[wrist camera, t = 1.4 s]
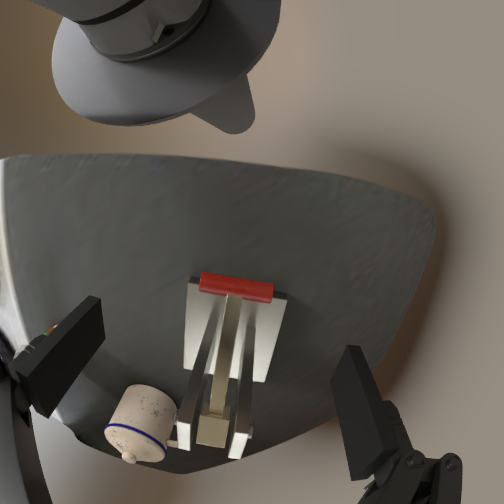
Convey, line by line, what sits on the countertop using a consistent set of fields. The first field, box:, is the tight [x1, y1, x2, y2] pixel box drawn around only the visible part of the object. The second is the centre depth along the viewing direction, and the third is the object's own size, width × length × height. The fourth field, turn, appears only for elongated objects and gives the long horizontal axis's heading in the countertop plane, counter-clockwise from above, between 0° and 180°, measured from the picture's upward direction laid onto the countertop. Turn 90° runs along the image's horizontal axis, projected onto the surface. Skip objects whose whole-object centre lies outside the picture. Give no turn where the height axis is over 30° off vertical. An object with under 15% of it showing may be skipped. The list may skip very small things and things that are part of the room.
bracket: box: [174, 277, 287, 459], centre depth 23 cm, size 12×10×15 cm
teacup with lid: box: [105, 384, 178, 463], centre depth 30 cm, size 12×9×12 cm
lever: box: [196, 272, 274, 448], centre depth 19 cm, size 13×5×2 cm, turn 171°
